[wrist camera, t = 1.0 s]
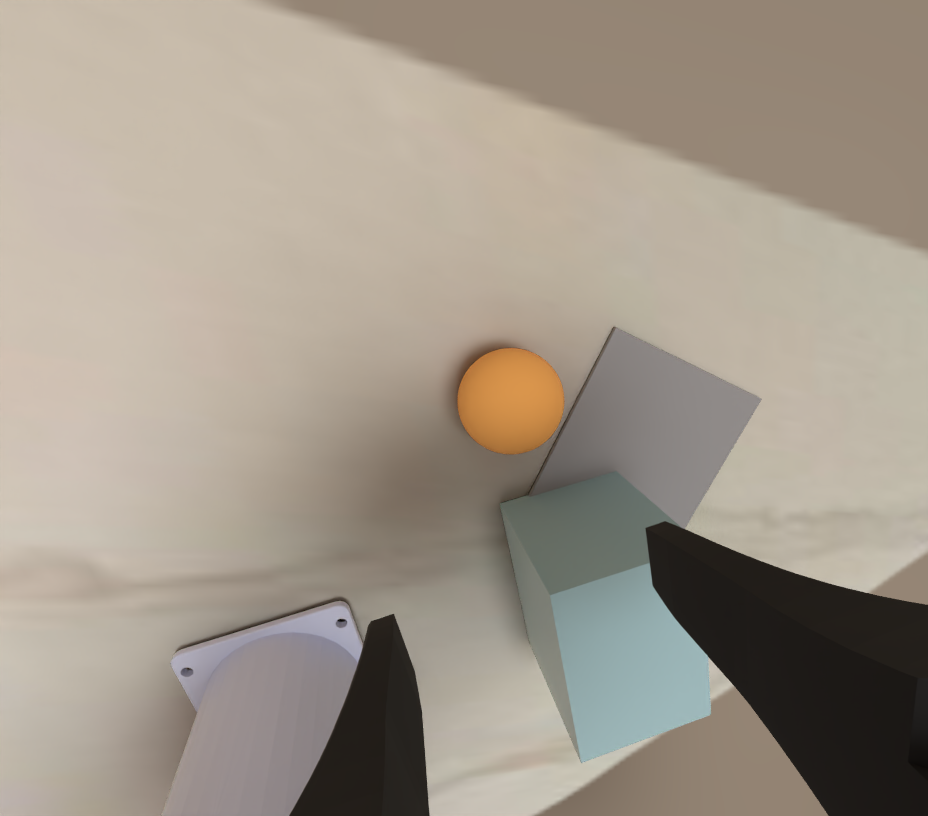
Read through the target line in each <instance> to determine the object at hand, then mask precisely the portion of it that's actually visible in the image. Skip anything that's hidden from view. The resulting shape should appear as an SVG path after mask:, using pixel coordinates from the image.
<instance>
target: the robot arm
mask: <svg viewBox="0 0 928 816" xmlns="http://www.w3.org/2000/svg"><path fill="white" fill-rule="evenodd" d="M645 529H646V537H647V545H648V553H649V561H650V569H651V577H652V585H653V587H654V589H655V590H656V592H657V593H658V595H659V596H660V598H661V599H662V601H663V602H664V604H665V605H666V607H667V608H668V610H669V611H670V612H671V614H672V615H673V617H674V618H675V619H676V620H677V622H678V623H679V624H680V625H681V626H682V627H683V629H684V630H685V631H686V632H687V633H688V634H689V635H690V637H691V638H692V639H693V640H694V641H695V642H696V643H697V645H698V646H699V647H700V648H701V649H702V650H703V651H704V652H705V654H706V655H707V656H708V657H709V658H710V659H711V660H712V661H713V663H714V664H715V665H716V666H717V667H718V668H719V669H720V670H721V672H722V673H723V674H724V675H725V676H726V677H727V678H728V679H729V681H730V682H731V683H732V684H733V685H734V686H735V687H736V689H737V690H738V691H739V692H740V693H741V695H742V696H743V697H744V698H745V699H746V701H747V702H748V703H749V704H750V705H751V707H752V708H753V710H754V711H755V712H756V714H757V715H758V716H759V718H760V719H761V720H762V722H763V723H764V724H765V726H766V727H767V728H768V730H769V731H770V733H771V734H772V735H773V737H774V738H775V739H776V741H777V742H778V744H779V745H780V746H781V748H782V749H783V751H784V752H785V753H786V755H787V756H788V758H789V759H790V760H791V762H792V763H793V765H794V766H795V767H796V769H797V770H798V772H799V773H800V774H801V776H802V777H803V779H804V780H805V781H806V783H807V784H808V786H809V787H810V789H811V790H812V792H813V793H814V795H815V796H816V798H817V799H818V800H819V802H820V804H821V805H822V807H823V808H824V809H825V811H826V813H827V814H828V815H829V816H928V605H925V604H919V603H912V602H907V601H902V600H897V599H892V598H887V597H882V596H877V595H873V594H869V593H865V592H860V591H856V590H852V589H847V588H844V587H840V586H836V585H832V584H829V583H825V582H822V581H819V580H815V579H812V578H808V577H805V576H802V575H799V574H795V573H792V572H789V571H786V570H784V569H781V568H778V567H775V566H773V565H770V564H767V563H764V562H761V561H759V560H756V559H754V558H751V557H749V556H746V555H744V554H741V553H739V552H736V551H734V550H731V549H729V548H727V547H724V546H722V545H720V544H717V543H715V542H713V541H710V540H708V539H706V538H704V537H701V536H699V535H697V534H694V533H692V532H690V531H688V530H685V529H683V528H681V527H679V526H676V525H674V524H671V523H669V522H666V521H664V522H661V523H658V524H655V525H652V526H649V527H646V528H645ZM339 619H345V620H346V621H344V622H339V621H337V620H339ZM170 664H171V667H172V669H173V671H174V673H175V674H176V676H177V678H178V680H179V682H180V683H181V685H182V687H183V689H184V691H185V692H186V694H187V696H188V698H189V700H190V701H191V703H192V705H193V707H194V709H195V710H196V712H197V715H196V718H195V720H194V723H193V726H192V729H191V732H190V735H189V738H188V740H187V743H186V746H185V749H184V752H183V755H182V757H181V760H180V763H179V766H178V769H177V772H176V774H175V777H174V780H173V783H172V786H171V789H170V792H169V794H168V797H167V800H166V803H165V806H164V809H163V811H162V814H161V816H430V815H429V805H428V791H427V776H426V762H425V748H424V734H423V721H422V710H421V704H420V698H419V692H418V687H417V681H416V676H415V671H414V668H413V665H412V663H411V660H410V657H409V654H408V652H407V649H406V646H405V643H404V641H403V638H402V635H401V632H400V630H399V627H398V624H397V621H396V619H395V616H394V614H392V615H389V616H386V617H383V618H380V619H377V620H374V621H371V622H370V624H369V626H368V629H367V633H366V637H365V641H364V644H363V643H362V640H361V638H360V635H359V632H358V629H357V627H356V624H355V621H354V619H353V616H352V613H351V610H350V608H349V606H348V604H347V603H345V602H343V601H335V602H332V603H329V604H326V605H323V606H319V607H316V608H313V609H310V610H306V611H303V612H300V613H297V614H294V615H290V616H287V617H284V618H281V619H277V620H274V621H271V622H268V623H265V624H261V625H258V626H255V627H252V628H248V629H245V630H242V631H239V632H236V633H232V634H229V635H226V636H223V637H220V638H216V639H213V640H210V641H207V642H203V643H200V644H197V645H194V646H191V647H187V648H184V649H181V650H179V651H177V652H176V653H175V654H174V655H173V657H172V660H171V663H170ZM185 668H191V669H192V670H187V669H185Z"/></svg>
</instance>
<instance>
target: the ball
mask: <svg viewBox="0 0 928 816" xmlns="http://www.w3.org/2000/svg"><path fill="white" fill-rule="evenodd" d="M563 410H564V392H563V388H562V384H561V381H560V379H559V377H558V375H557V374H556V372H555V371H554V369H553V368H552V366H551V365H550V364H549V363H548V362H546V361H545V360H544V359H543V358H541V357H540V356H538V355H536V354H535V353H532V352H530V351H527V350H523V349H519V348H503V349H498V350H495V351H492V352H489V353H487V354H485V355H484V356H482V357H481V358H479V359H478V360H477V361H475V362H474V363H473V364H472V365H471V366H470V368H469V369H468V370H467V372H466V373H465V375H464V377H463V379H462V381H461V384H460V387H459V391H458V412H459V416H460V419H461V421H462V424H463V426H464V428H465V429H466V431H467V432H468V434H469V435H470V436H471V437H472V438H473V439H474V440H475V441H476V442H477V443H478V444H480V445H482V446H483V447H485V448H486V449H489V450H491V451H494V452H497V453H502V454H520V453H524V452H528V451H531V450H533V449H535V448H537V447H539V446H540V445H542V444H543V443H544V442H546V441H547V440H548V439H549V438H550V437H551V436H552V434H553V433H554V432H555V430H556V429H557V427H558V425H559V423H560V421H561V418H562V415H563Z"/></svg>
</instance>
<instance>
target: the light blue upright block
mask: <svg viewBox="0 0 928 816" xmlns="http://www.w3.org/2000/svg"><path fill="white" fill-rule="evenodd" d="M500 508H501V513H502V518H503V522H504V527H505V532H506V536H507V541H508V546H509V550H510V555H511V560H512V564H513V569H514V574H515V578H516V583H517V588H518V592H519V597H520V602H521V606H522V611H523V616H524V620H525V625H526V630H527V634H528V639H529V643H530V645H531V647H532V650H533V652H534V654H535V657H536V659H537V661H538V664H539V666H540V668H541V671H542V673H543V675H544V678H545V680H546V682H547V685H548V687H549V689H550V692H551V694H552V696H553V699H554V701H555V703H556V706H557V708H558V710H559V713H560V715H561V717H562V719H563V722H564V724H565V726H566V729H567V731H568V733H569V736H570V738H571V740H572V743H573V745H574V747H575V750H576V752H577V754H578V757H579V759H580V761H581V763H583V762H585V761H588V760H591V759H593V758H596V757H599V756H601V755H604V754H607V753H609V752H612V751H615V750H617V749H620V748H623V747H625V746H628V745H631V744H633V743H636V742H639V741H642V740H644V739H647V738H650V737H652V736H655V735H658V734H660V733H663V732H666V731H668V730H671V729H674V728H676V727H679V726H682V725H684V724H687V723H690V722H692V721H695V720H698V719H700V718H703V717H706V716H708V715H711V705H710V685H709V665H708V656H707V655H706V654H705V652H704V651H703V650H702V649H701V648H700V647H699V646H698V645H697V643H696V642H695V641H694V640H693V639H692V638H691V637H690V635H689V634H688V633H687V632H686V631H685V630H684V629H683V627H682V626H681V625H680V624H679V623H678V622H677V620H676V619H675V618H674V617H673V615H672V614H671V612H670V611H669V610H668V608H667V607H666V605H665V604H664V602H663V601H662V599H661V598H660V596H659V595H658V593H657V592H656V590H655V589H654V587H653V585H652V577H651V569H650V561H649V553H648V545H647V537H646V529H645V528H646V527H649V526H652V525H655V524H658V523H661V522H664V521H666V522H669V523H671V524H674V525H676V526H679V525H678V524H677V523H676V522H675V521H674V520H672V519H671V518H670V517H669V516H668V515H667V514H665V513H664V512H663V511H662V510H661V509H660V508H658V507H657V506H656V505H655V504H654V503H653V502H652V501H650V500H649V499H648V498H647V497H646V496H645V495H643V494H642V493H641V492H640V491H639V490H638V489H637V488H635V487H634V486H633V485H632V484H631V483H630V482H628V481H627V480H626V479H625V478H624V477H623V476H621V475H620V474H619V473H618V472H617V471H615V472H612V473H608V474H605V475H602V476H598V477H595V478H592V479H588V480H585V481H581V482H578V483H575V484H571V485H568V486H565V487H561V488H558V489H555V490H551V491H548V492H545V493H541V494H538V495H535V496H531V497H529V496H528V495H527V496H523V497H520V498H517V499H513V500H510V501H507V502H503V503H500ZM679 527H680V526H679ZM681 528H682V527H681Z"/></svg>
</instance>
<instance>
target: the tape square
mask: <svg viewBox="0 0 928 816" xmlns="http://www.w3.org/2000/svg"><path fill="white" fill-rule="evenodd" d="M761 400H762V399H761V398H759V397H757V396H754V395H752V394H750V393H748V392H746V391H744V390H742V389H740V388H738V387H736V386H734V385H732V384H730V383H728V382H726V381H724V380H722V379H720V378H718V377H716V376H714V375H712V374H710V373H708V372H706V371H703V370H701V369H699V368H697V367H695V366H693V365H691V364H689V363H687V362H685V361H683V360H681V359H679V358H677V357H675V356H673V355H671V354H669V353H667V352H665V351H663V350H661V349H659V348H657V347H655V346H653V345H650V344H648V343H646V342H644V341H642V340H640V339H638V338H636V337H634V336H632V335H630V334H628V333H626V332H624V331H622V330H620V329H618V328H616V327H614V328H613V330H612V332H611V334H610V336H609V338H608V339H607V341H606V343H605V345H604V347H603V349H602V351H601V353H600V355H599V357H598V359H597V361H596V363H595V365H594V367H593V369H592V371H591V373H590V375H589V377H588V379H587V381H586V383H585V385H584V387H583V388H582V390H581V392H580V394H579V396H578V398H577V400H576V402H575V404H574V406H573V408H572V410H571V412H570V414H569V416H568V418H567V420H566V422H565V424H564V426H563V428H562V430H561V432H560V434H559V436H558V438H557V439H556V441H555V443H554V445H553V447H552V449H551V451H550V453H549V455H548V457H547V459H546V461H545V463H544V465H543V467H542V469H541V471H540V473H539V475H538V477H537V479H536V481H535V483H534V485H533V487H532V488H531V490H530V492H529V494H528V496H529V497H531V496H535V495H538V494H541V493H545V492H548V491H551V490H555V489H558V488H561V487H565V486H568V485H571V484H575V483H578V482H581V481H585V480H588V479H592V478H595V477H598V476H602V475H605V474H608V473H612V472H615V471H617V472H618V473H619V474H620V475H621V476H623V477H624V478H625V479H626V480H627V481H628V482H630V483H631V484H632V485H633V486H634V487H635V488H637V489H638V490H639V491H640V492H641V493H642V494H643V495H645V496H646V497H647V498H648V499H649V500H650V501H652V502H653V503H654V504H655V505H656V506H657V507H658V508H660V509H661V510H662V511H663V512H664V513H665V514H667V515H668V516H669V517H670V518H671V519H672V520H674V521H675V522H676V523H677V524H678V525H679V526H680V527H682V528H683V529H685V527H686V526H687V524H688V522H689V521H690V519H691V517H692V516H693V514H694V512H695V511H696V509H697V507H698V506H699V504H700V502H701V500H702V499H703V497H704V495H705V494H706V492H707V490H708V489H709V487H710V485H711V484H712V482H713V480H714V479H715V477H716V475H717V474H718V472H719V470H720V469H721V467H722V465H723V464H724V462H725V460H726V458H727V457H728V455H729V453H730V452H731V450H732V448H733V447H734V445H735V443H736V442H737V440H738V438H739V437H740V435H741V433H742V432H743V430H744V428H745V427H746V425H747V423H748V421H749V420H750V418H751V416H752V415H753V413H754V411H755V410H756V408H757V406H758V405H759V403H760V401H761Z"/></svg>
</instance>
